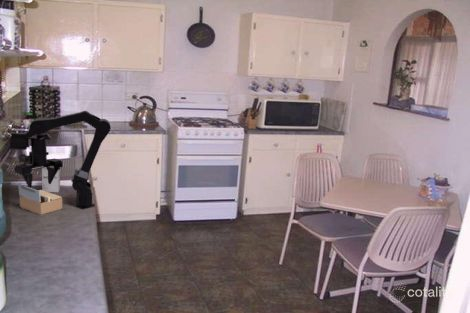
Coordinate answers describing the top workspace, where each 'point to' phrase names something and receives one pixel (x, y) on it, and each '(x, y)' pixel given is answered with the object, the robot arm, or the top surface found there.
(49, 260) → the top surface
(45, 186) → the supplement box
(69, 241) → the top surface
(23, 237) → the top surface
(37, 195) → the flap
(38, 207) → the carton
